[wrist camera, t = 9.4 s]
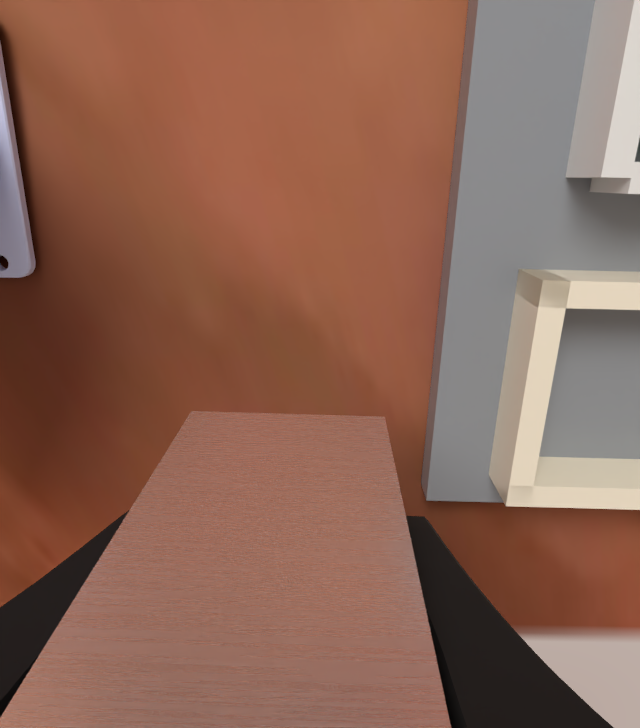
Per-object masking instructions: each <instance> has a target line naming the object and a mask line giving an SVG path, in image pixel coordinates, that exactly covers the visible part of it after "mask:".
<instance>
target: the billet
mask: <svg viewBox="0 0 640 728" xmlns="http://www.w3.org/2000/svg"><path fill="white" fill-rule="evenodd" d="M0 728H451V724H450V720H449V715H448V710H447V706H446V701H445V696H444V692H443V687H442V682H441V678H440V673H439V668H438V664H437V659H436V654H435V650H434V645H433V640H432V636H431V631H430V626H429V622H428V617H427V612H426V608H425V603H424V598H423V594H422V589H421V584H420V580H419V575H418V570H417V566H416V561H415V556H414V552H413V547H412V542H411V538H410V533H409V528H408V524H407V519H406V514H405V509H404V505H403V500H402V495H401V491H400V486H399V481H398V477H397V472H396V467H395V463H394V458H393V453H392V449H391V444H390V439H389V435H388V430H387V425H386V421H385V417H372V416H338V415H305V414H272V413H238V412H205V411H191V413H190V414H189V416H188V417H187V419H186V421H185V422H184V424H183V425H182V427H181V429H180V430H179V432H178V433H177V435H176V437H175V438H174V440H173V441H172V443H171V445H170V446H169V448H168V449H167V451H166V453H165V454H164V456H163V458H162V459H161V461H160V462H159V464H158V466H157V467H156V469H155V470H154V472H153V474H152V475H151V477H150V478H149V480H148V482H147V483H146V485H145V486H144V488H143V490H142V491H141V493H140V494H139V496H138V498H137V499H136V501H135V502H134V504H133V506H132V507H131V509H130V510H129V512H128V514H127V515H126V517H125V518H124V520H123V522H122V523H121V525H120V526H119V528H118V530H117V531H116V533H115V534H114V536H113V538H112V539H111V541H110V542H109V544H108V546H107V547H106V549H105V550H104V552H103V554H102V555H101V557H100V558H99V560H98V562H97V563H96V565H95V566H94V568H93V570H92V571H91V573H90V575H89V576H88V578H87V579H86V581H85V583H84V584H83V586H82V587H81V589H80V591H79V592H78V594H77V595H76V597H75V599H74V600H73V602H72V603H71V605H70V607H69V608H68V610H67V611H66V613H65V615H64V616H63V618H62V619H61V621H60V623H59V624H58V626H57V627H56V629H55V631H54V632H53V634H52V635H51V637H50V639H49V640H48V642H47V643H46V645H45V647H44V648H43V650H42V651H41V653H40V655H39V656H38V658H37V659H36V661H35V663H34V664H33V666H32V667H31V669H30V671H29V672H28V674H27V675H26V677H25V679H24V680H23V682H22V683H21V685H20V687H19V688H18V690H17V691H16V693H15V695H14V696H13V698H12V700H11V701H10V703H9V704H8V706H7V708H6V709H5V711H4V712H3V714H2V716H1V717H0Z"/></svg>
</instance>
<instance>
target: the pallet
mask: <svg viewBox="0 0 640 728" xmlns="http://www.w3.org/2000/svg"><path fill="white" fill-rule="evenodd" d="M421 485H422V488H423V491H424V495H425V498H426V501H464V502H501V503H504V504H505V506H515V507H553V508H590V509H628V510H640V0H469V2H468V12H467V22H466V33H465V43H464V53H463V63H462V73H461V83H460V93H459V104H458V114H457V124H456V134H455V144H454V154H453V164H452V174H451V185H450V195H449V205H448V215H447V225H446V235H445V245H444V255H443V266H442V276H441V286H440V296H439V306H438V316H437V326H436V336H435V347H434V357H433V367H432V377H431V387H430V397H429V407H428V417H427V428H426V438H425V448H424V458H423V468H422V478H421Z"/></svg>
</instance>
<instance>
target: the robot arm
mask: <svg viewBox="0 0 640 728" xmlns="http://www.w3.org/2000/svg"><path fill="white" fill-rule="evenodd" d="M0 256H4V257H5V258H6V259H7V261H8V263H9V264H8V268H4V267H3V266H2V265H1V263H0V277H4V278H21V277H25V276H28V275H30V274H31V273H33V271H34V269H35V264H36V262H35V255H34V249H33V243H32V237H31V230H30V224H29V218H28V212H27V205H26V199H25V193H24V187H23V180H22V174H21V168H20V161H19V155H18V149H17V143H16V136H15V130H14V124H13V118H12V111H11V105H10V99H9V93H8V86H7V80H6V74H5V67H4V61H3V55H2V49H1V42H0ZM128 512H129V511H128ZM128 512H126V513H125V514H124V515H122V516H121V517H120V518H118V519H117V520H116V521H114V522H113V523H112V524H111V525H109V526H108V527H107V528H106V529H104V530H103V531H102V532H100V533H99V534H98V535H97V536H95V537H94V538H93V539H92V540H90V541H89V542H88V543H87V544H85V545H84V546H83V547H82V548H80V549H79V550H78V551H76V552H75V553H74V554H72V555H71V556H70V557H69V558H67V559H66V560H65V561H63V562H62V563H61V564H59V565H58V566H57V567H56V568H54V569H53V570H52V571H50V572H49V573H48V574H46V575H45V576H44V577H43V578H41V579H40V580H38V581H37V582H36V583H34V584H33V585H31V586H30V587H29V588H27V589H26V590H24V591H23V592H22V593H20V594H19V595H17V596H16V597H15V598H13V599H12V600H10V601H9V602H7V603H6V604H5V605H3V606H2V607H0V717H1V716H2V714H3V712H4V711H5V709H6V708H7V706H8V704H9V703H10V701H11V700H12V698H13V696H14V695H15V693H16V691H17V690H18V688H19V687H20V685H21V683H22V682H23V680H24V679H25V677H26V675H27V674H28V672H29V671H30V669H31V667H32V666H33V664H34V663H35V661H36V659H37V658H38V656H39V655H40V653H41V651H42V650H43V648H44V647H45V645H46V643H47V642H48V640H49V639H50V637H51V635H52V634H53V632H54V631H55V629H56V627H57V626H58V624H59V623H60V621H61V619H62V618H63V616H64V615H65V613H66V611H67V610H68V608H69V607H70V605H71V603H72V602H73V600H74V599H75V597H76V595H77V594H78V592H79V591H80V589H81V587H82V586H83V584H84V583H85V581H86V579H87V578H88V576H89V575H90V573H91V571H92V570H93V568H94V566H95V565H96V563H97V562H98V560H99V558H100V557H101V555H102V554H103V552H104V550H105V549H106V547H107V546H108V544H109V542H110V541H111V539H112V538H113V536H114V534H115V533H116V531H117V530H118V528H119V526H120V525H121V523H122V522H123V520H124V518H125V517H126V515H127V514H128ZM406 519H407V524H408V528H409V533H410V538H411V542H412V547H413V552H414V556H415V561H416V566H417V570H418V575H419V580H420V584H421V589H422V594H423V598H424V603H425V608H426V612H427V617H428V622H429V626H430V631H431V636H432V640H433V645H434V650H435V654H436V659H437V664H438V668H439V673H440V678H441V682H442V687H443V692H444V696H445V701H446V706H447V710H448V715H449V720H450V724H451V728H613V727H612V726H611V725H610V724H609V723H608V722H606V721H605V720H604V719H603V718H602V717H601V716H600V715H599V714H598V713H596V712H595V711H594V710H593V709H592V708H591V707H590V706H589V705H588V704H587V703H586V702H585V701H584V700H583V699H581V698H580V697H579V696H578V695H577V694H576V693H575V692H574V691H573V690H572V689H571V688H570V687H569V686H568V685H567V684H566V683H565V682H564V681H562V680H561V679H560V678H559V677H558V676H557V675H556V674H555V673H554V672H553V671H552V670H551V669H550V668H549V667H548V666H547V665H546V664H545V663H544V661H543V660H542V659H541V658H540V657H539V656H538V655H537V654H536V653H535V652H534V651H533V650H532V649H531V648H530V647H529V646H528V645H527V643H526V642H525V641H524V640H523V639H522V638H521V637H520V636H519V635H518V634H517V633H516V631H515V630H514V629H513V628H512V627H511V626H510V625H509V624H508V622H507V621H506V620H505V619H504V618H503V617H502V616H501V614H500V613H499V612H498V611H497V610H496V609H495V607H494V606H493V605H492V604H491V603H490V601H489V600H488V599H487V598H486V597H485V595H484V594H483V593H482V592H481V590H480V589H479V588H478V587H477V586H476V584H475V583H474V582H473V581H472V579H471V578H470V577H469V576H468V574H467V573H466V572H465V570H464V569H463V568H462V567H461V565H460V564H459V563H458V561H457V560H456V559H455V557H454V556H453V555H452V553H451V552H450V551H449V549H448V548H447V546H446V545H445V544H444V542H443V541H442V540H441V538H440V537H439V535H438V534H437V533H436V531H435V530H434V528H433V527H432V525H431V524H430V523H429V521H428V520H427V519H426V518H425V517H419V516H406Z"/></svg>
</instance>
